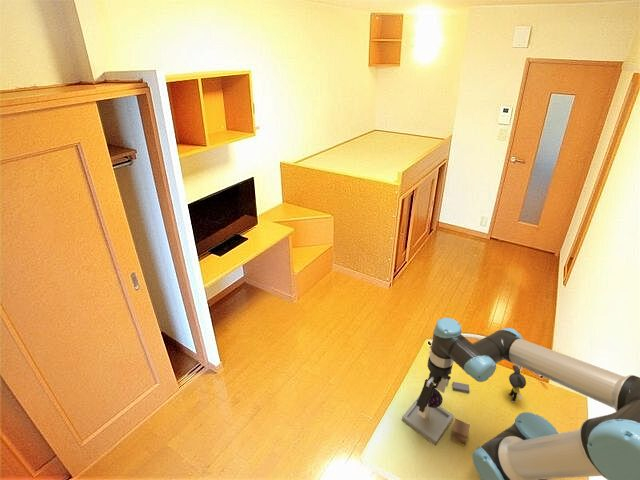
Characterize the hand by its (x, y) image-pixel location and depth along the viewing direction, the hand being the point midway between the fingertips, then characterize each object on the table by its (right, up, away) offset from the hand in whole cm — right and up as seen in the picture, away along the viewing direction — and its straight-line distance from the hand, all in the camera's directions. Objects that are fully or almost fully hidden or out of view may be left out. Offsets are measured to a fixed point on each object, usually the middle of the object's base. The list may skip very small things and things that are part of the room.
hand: (431, 402), depth 123 cm
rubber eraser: (+17, -2, +16) cm, 23 cm away
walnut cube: (+9, -12, -1) cm, 15 cm away
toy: (+35, -4, +12) cm, 37 cm away
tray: (0, -9, +5) cm, 10 cm away
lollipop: (0, -8, +4) cm, 9 cm away
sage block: (+10, -1, +19) cm, 21 cm away
